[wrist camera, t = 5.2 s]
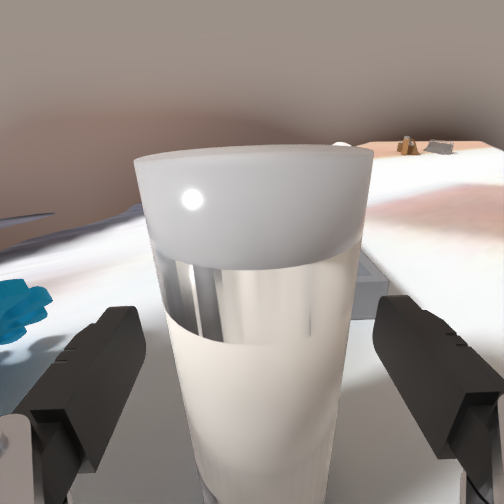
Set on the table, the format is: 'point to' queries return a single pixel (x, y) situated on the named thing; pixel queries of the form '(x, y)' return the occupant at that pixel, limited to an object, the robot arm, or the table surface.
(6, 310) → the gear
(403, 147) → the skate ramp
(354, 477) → the table surface
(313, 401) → the fuse
